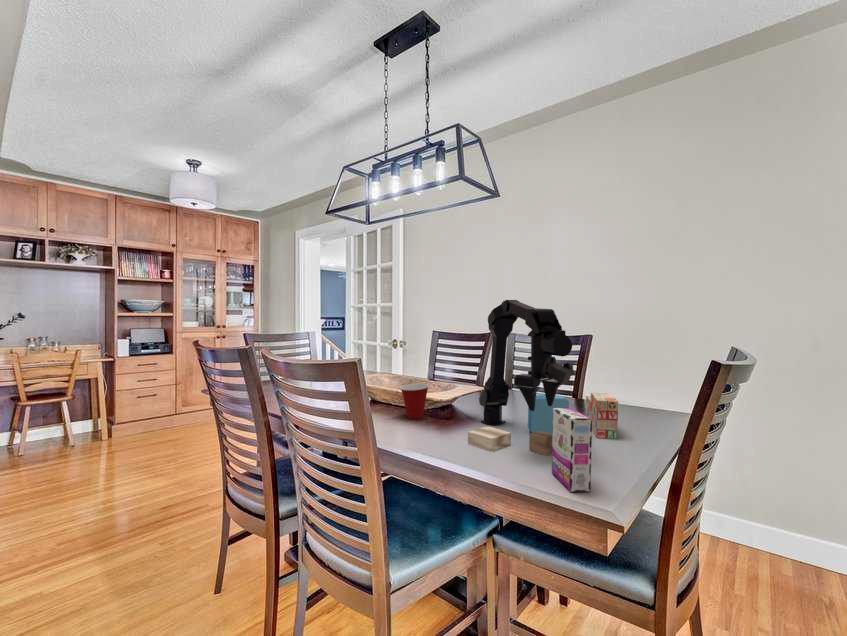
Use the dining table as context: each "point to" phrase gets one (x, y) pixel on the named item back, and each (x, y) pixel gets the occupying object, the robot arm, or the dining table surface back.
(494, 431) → the maple base block
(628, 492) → the dining table surface
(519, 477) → the dining table surface
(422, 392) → the plastic cup
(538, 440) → the walnut cube
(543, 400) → the blue flat block
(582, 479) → the candy bar box
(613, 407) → the stack of blocks
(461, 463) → the dining table surface
